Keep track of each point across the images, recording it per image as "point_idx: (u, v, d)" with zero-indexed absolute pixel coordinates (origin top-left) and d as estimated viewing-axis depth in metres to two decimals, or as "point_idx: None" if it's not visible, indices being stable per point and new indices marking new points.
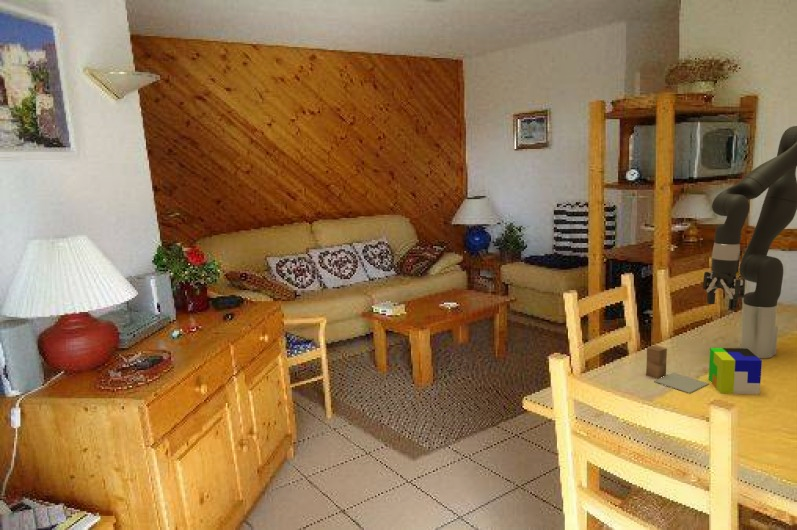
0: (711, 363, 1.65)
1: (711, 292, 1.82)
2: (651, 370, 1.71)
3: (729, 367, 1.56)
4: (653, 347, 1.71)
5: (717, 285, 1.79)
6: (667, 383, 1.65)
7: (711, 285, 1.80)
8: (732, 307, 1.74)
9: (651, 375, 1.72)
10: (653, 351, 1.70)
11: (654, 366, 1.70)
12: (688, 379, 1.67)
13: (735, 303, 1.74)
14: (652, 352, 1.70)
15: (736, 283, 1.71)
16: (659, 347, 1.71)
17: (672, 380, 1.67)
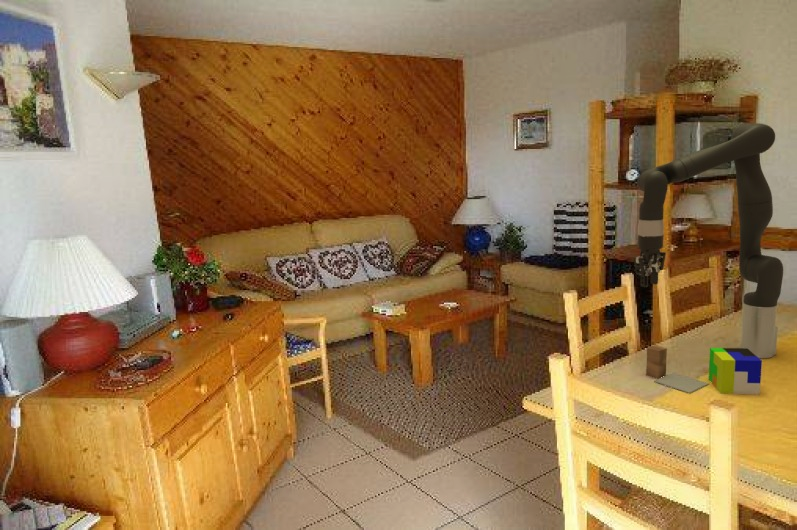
0: (711, 363, 1.65)
1: None
2: (651, 370, 1.71)
3: (729, 367, 1.56)
4: (653, 347, 1.71)
5: None
6: (667, 383, 1.65)
7: (650, 265, 1.77)
8: None
9: (651, 375, 1.72)
10: (653, 351, 1.70)
11: (654, 366, 1.70)
12: (688, 379, 1.67)
13: None
14: (652, 352, 1.70)
15: (664, 256, 1.82)
16: (659, 347, 1.71)
17: (672, 380, 1.67)
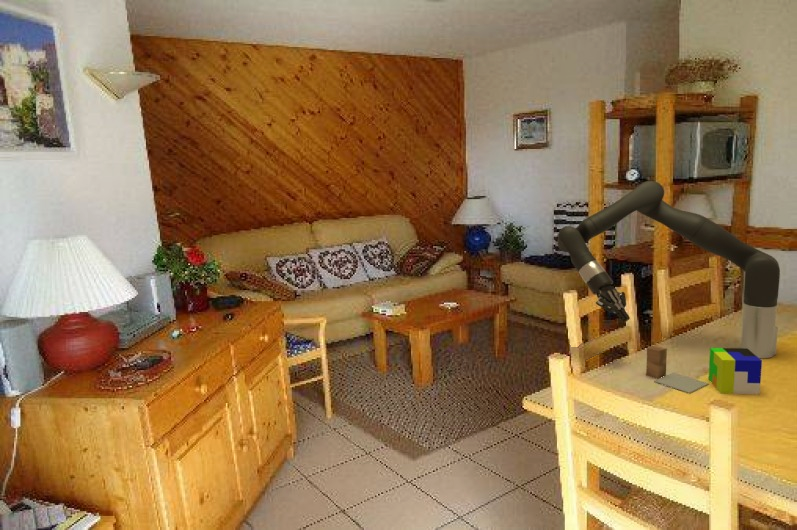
0: (711, 363, 1.65)
1: None
2: (651, 370, 1.71)
3: (729, 367, 1.56)
4: (653, 347, 1.71)
5: (613, 296, 1.81)
6: (667, 383, 1.65)
7: (614, 299, 1.80)
8: (628, 316, 1.79)
9: (651, 375, 1.72)
10: (653, 351, 1.70)
11: (654, 366, 1.70)
12: (688, 379, 1.67)
13: None
14: (652, 352, 1.70)
15: (623, 294, 1.84)
16: (659, 347, 1.71)
17: (672, 380, 1.67)
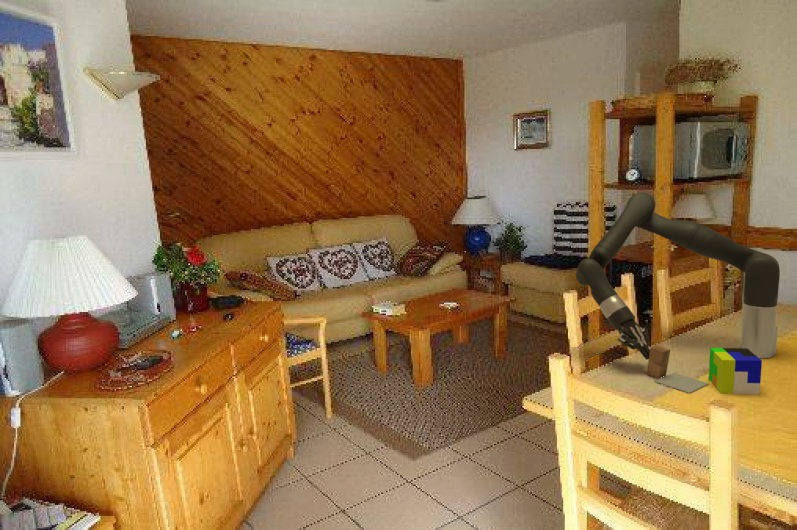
0: (711, 363, 1.65)
1: None
2: (652, 369, 1.71)
3: (729, 367, 1.56)
4: (657, 347, 1.70)
5: None
6: (667, 383, 1.65)
7: (637, 336, 1.75)
8: None
9: (651, 374, 1.71)
10: (656, 351, 1.69)
11: (656, 366, 1.70)
12: (688, 379, 1.67)
13: None
14: (655, 352, 1.69)
15: (646, 330, 1.78)
16: (663, 347, 1.70)
17: (672, 380, 1.67)
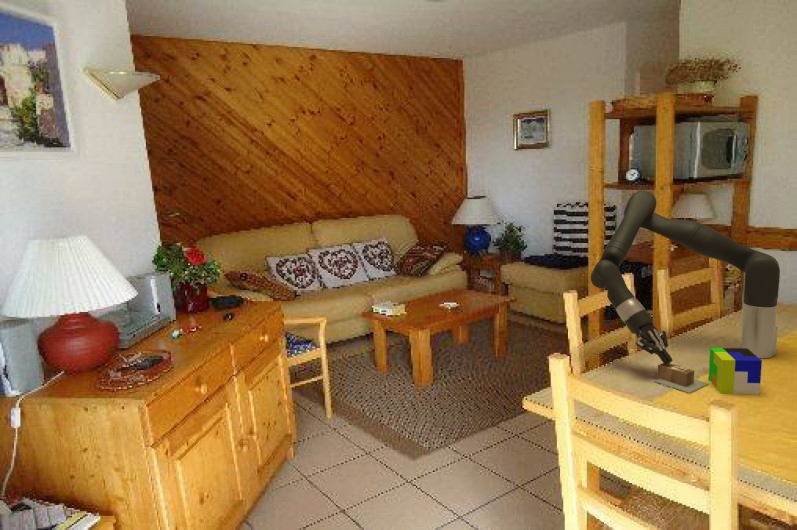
0: (711, 363, 1.65)
1: None
2: (664, 372, 1.68)
3: (729, 367, 1.56)
4: (689, 375, 1.63)
5: (654, 336, 1.71)
6: (667, 383, 1.65)
7: (656, 340, 1.70)
8: (670, 357, 1.69)
9: (659, 371, 1.69)
10: (684, 379, 1.62)
11: (669, 377, 1.67)
12: None
13: None
14: (683, 379, 1.63)
15: (664, 334, 1.73)
16: (691, 378, 1.64)
17: None
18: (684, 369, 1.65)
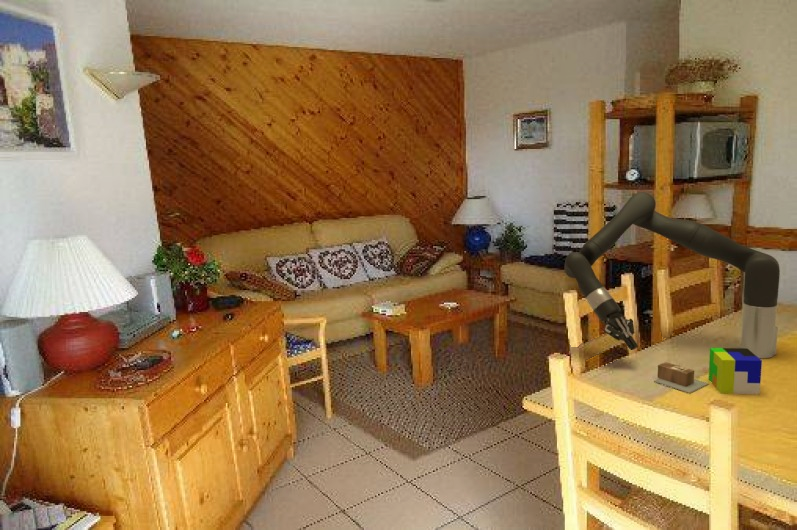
0: (711, 363, 1.65)
1: None
2: (664, 372, 1.68)
3: (728, 367, 1.56)
4: (689, 375, 1.63)
5: None
6: (667, 383, 1.65)
7: (622, 327, 1.79)
8: (636, 343, 1.78)
9: (659, 371, 1.69)
10: (684, 379, 1.62)
11: (669, 377, 1.67)
12: None
13: None
14: (683, 379, 1.63)
15: (631, 321, 1.83)
16: (691, 378, 1.64)
17: None
18: (684, 369, 1.65)
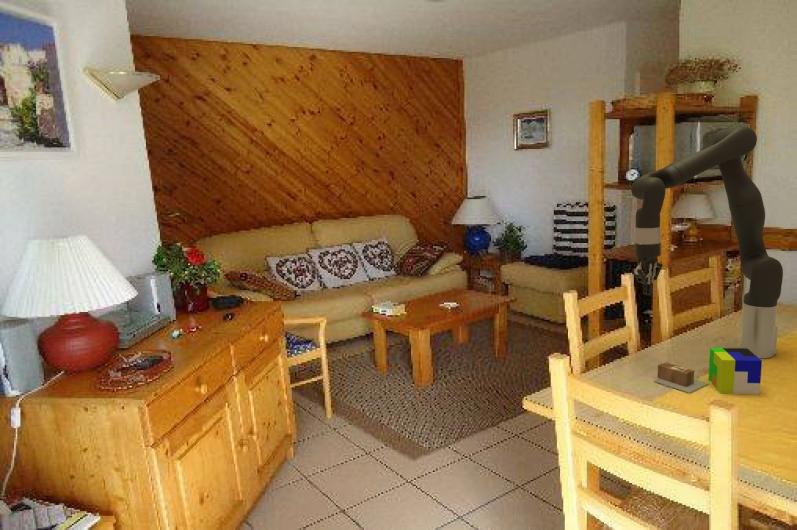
0: (711, 363, 1.65)
1: None
2: (664, 372, 1.68)
3: (729, 367, 1.56)
4: (689, 375, 1.63)
5: (651, 268, 1.76)
6: (667, 383, 1.65)
7: (650, 273, 1.75)
8: None
9: (659, 371, 1.69)
10: (684, 379, 1.62)
11: (669, 377, 1.67)
12: None
13: None
14: (683, 379, 1.63)
15: (660, 267, 1.78)
16: (691, 378, 1.64)
17: None
18: (684, 369, 1.65)
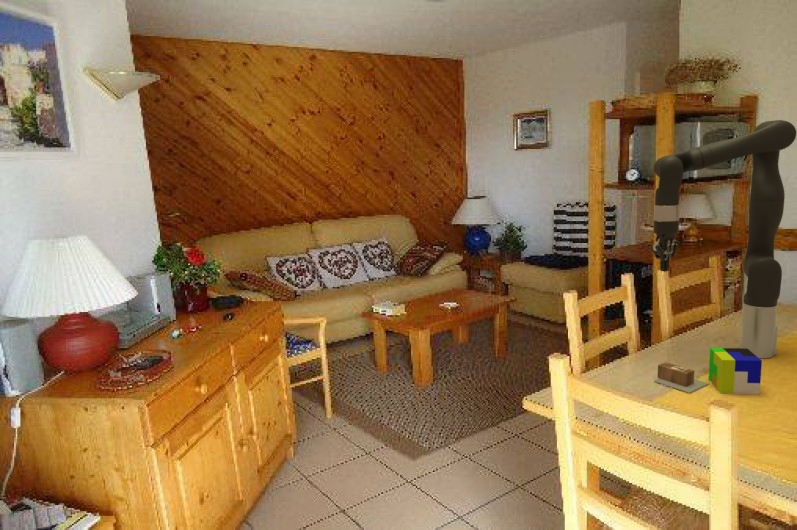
0: (711, 363, 1.65)
1: None
2: (664, 372, 1.68)
3: (729, 367, 1.56)
4: (689, 375, 1.63)
5: (668, 245, 1.81)
6: (667, 383, 1.65)
7: (668, 250, 1.81)
8: (668, 267, 1.84)
9: (659, 371, 1.69)
10: (684, 379, 1.62)
11: (669, 377, 1.67)
12: None
13: None
14: (683, 379, 1.63)
15: (677, 244, 1.84)
16: (691, 378, 1.64)
17: None
18: (684, 369, 1.65)
